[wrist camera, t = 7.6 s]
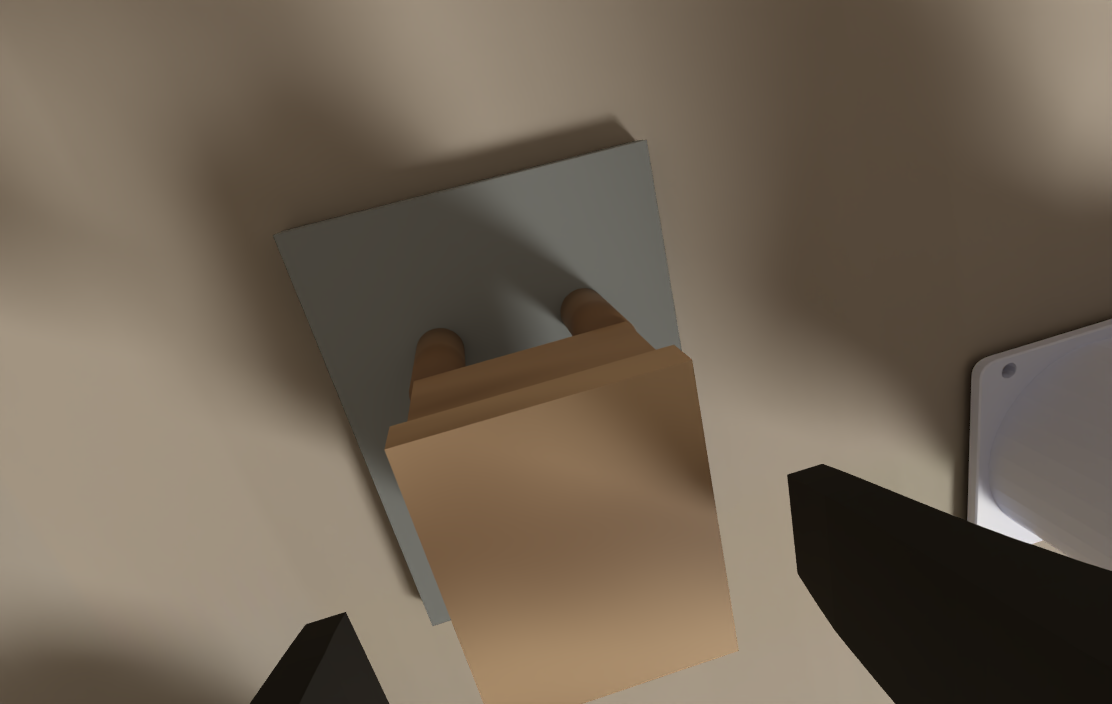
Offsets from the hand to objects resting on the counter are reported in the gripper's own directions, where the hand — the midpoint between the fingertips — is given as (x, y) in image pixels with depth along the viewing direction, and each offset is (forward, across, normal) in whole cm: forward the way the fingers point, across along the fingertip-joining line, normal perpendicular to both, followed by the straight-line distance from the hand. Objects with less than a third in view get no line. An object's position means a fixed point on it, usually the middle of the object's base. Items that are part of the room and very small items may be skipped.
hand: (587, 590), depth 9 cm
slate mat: (+8, 0, 0) cm, 8 cm away
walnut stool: (+7, 0, 0) cm, 7 cm away
